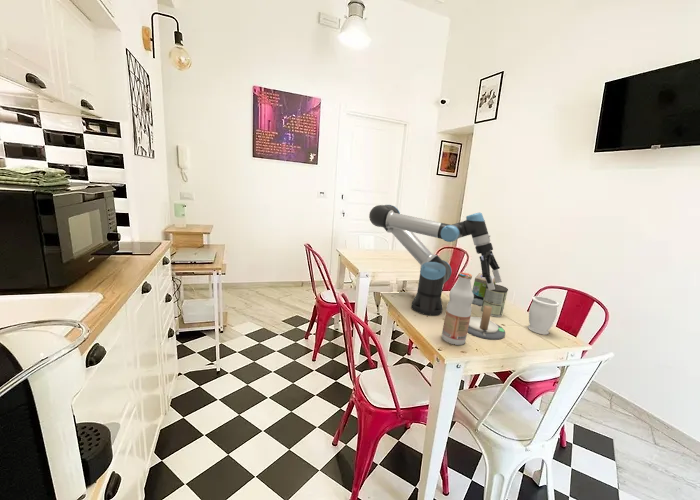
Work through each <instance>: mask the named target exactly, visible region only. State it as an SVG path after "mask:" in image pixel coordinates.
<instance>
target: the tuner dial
mask: <svg viewBox="0 0 700 500" xmlns="http://www.w3.org/2000/svg"><path fill="white" fill-rule="evenodd" d="M491 311H492V307H491V306H487V305H484V309H483V312H482V315H481V317H479V316H471V317H470V322H469V327H470V328H472V329H474V330H476V331H479V332H484V333H496V332H497V331H498V325H499V324H498V323H496V324H495V322H494V321H493V320H490V319H491V317H492V316H491ZM497 324H498V325H497Z"/></svg>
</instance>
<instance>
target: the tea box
mask: <svg viewBox="0 0 700 500" xmlns="http://www.w3.org/2000/svg"><path fill="white" fill-rule="evenodd" d="M490 276H491V277H492V280H493V284H497V283H496V282H495V278H494V275H490ZM486 284H487V283H486V279H485V277H482V272H481V273H478V274H477V275H476V277H475V278H474V280H473V285H472V292H473V294H474V299H473V302H472V304H473V305H477V306H481V307H482V304H483V299H484V294H485V289H486Z"/></svg>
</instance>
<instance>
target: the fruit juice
mask: <svg viewBox="0 0 700 500" xmlns="http://www.w3.org/2000/svg"><path fill="white" fill-rule="evenodd" d="M472 278H473V275H472V274H471V273H469V272H459V273H458V279H457V280H456V283H455V284H454V285H453V287H452V288H451V289H450V292H449V294H448V295H449V297H448V298H449V301H448V303H447V305H446V309H445V315H444V320H443V325H442V331H441V339H442V340H443V341H445V342H446V343H448V342H449V343H448V344H451V345H454V344H455V345H456V346H462V345H464V344H465V343H466V341H467V336H468V333H467V332H468V327H469V322H470V317H472V311H473V310H472V308H473V307H472V304H473V303H472V302H473V299H474V294H473V292H472V290H473V287H472V282H471V280H472Z"/></svg>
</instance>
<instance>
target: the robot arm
mask: <svg viewBox="0 0 700 500" xmlns="http://www.w3.org/2000/svg"><path fill="white" fill-rule="evenodd" d="M368 217H369V221H370V222H371V224H372V225H374V227H378V228H383V230H385V232H387V233H391V234H392V235H393V237H395V238H396V239H397V241H398V242H399V243H400V244H401V245H402V246H403V247H404V248H405V249H406V250H407V251H408V253H409V254H410V255H411V256H412V257H413V258H414V260H415V261H416V262H417V263H418V264H419V265H420V270H419V277H418V278H419V279H418V284H417V285H418V286H417V291H416V294H415V296H414V298H413V299H412V302H411V309H412V310H413V311H415V312H417V313H419V314H422V315H425V316H434V317H435V316H440V315H441V314H442V313H443V308H444V307H443V301H442V293H443V287H444V284H445V283H447V282H448V281H449V280H450V278H451V276H452V267H451V265H450V264H449V262H447V261H446V260H443V259H442V258H441V257H440V256H439V255H438V254H433V253H432V251H430V249H429V248H427V246H426V245H425V244H424V243H423V242H422V241H421V240H420V238H418V237H417V236H416V234H419V235H424V236H428V237H433V238H437V239H440V240H443V241H444V242H447V243H451V242H452V243H453V242H455V241H457V240H458V239H461V238H465V237H467V236H471V239H472V242H473V245H474V246H475V248H474V249H475V251H476V254H481V255H480V256H479V257H478V258H479V260H480V267H481V274H482V277H485V279H486V283H487V286H488V289H489V290H495V287H494V284H493V280H492V277H491V276H494V278H495V282H496V283H495V284H498V283H502V278H501V277H502V276H501V275H500V271H499V269H500V267H501V266H499V264H498V262H497V260H496V258H495V255H494V253H493V250H494V247H493V244H492V242H491V235H489V231H488V228H487V224H486V221H485V218H484V216H483V213H482V212H475V213H472V214H469V215H466V217H465V218H466V219H465V220H463V221H460V222H456V223H452V224H449V223H445V222H444V223H443V222H439V221H435V220H431V219H425V218H421V217H415V216H411V215H408V214H407V215H406V214H401V212H400V210H399V209H398V207H396V206H394V205H392V204H384V205H383V204H378V205H376V206H374V207H372V209H370V211H369V214H368ZM491 269H492V271H491ZM491 272H492V274H493V275H491Z"/></svg>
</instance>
